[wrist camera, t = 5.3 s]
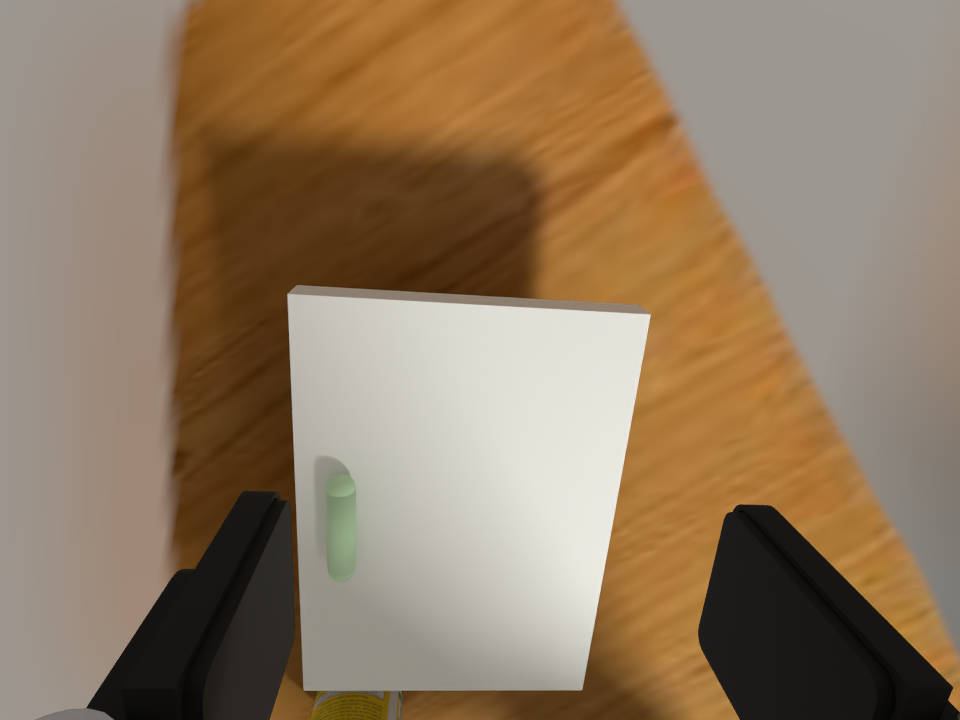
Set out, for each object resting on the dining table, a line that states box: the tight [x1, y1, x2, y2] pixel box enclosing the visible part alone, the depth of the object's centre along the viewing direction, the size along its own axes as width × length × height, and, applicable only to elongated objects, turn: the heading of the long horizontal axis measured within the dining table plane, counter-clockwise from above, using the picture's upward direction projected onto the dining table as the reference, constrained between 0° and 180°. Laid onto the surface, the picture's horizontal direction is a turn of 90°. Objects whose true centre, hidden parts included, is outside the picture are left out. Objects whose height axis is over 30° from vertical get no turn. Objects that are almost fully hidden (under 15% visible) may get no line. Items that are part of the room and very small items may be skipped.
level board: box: [287, 285, 651, 691], centre depth 26 cm, size 20×14×3 cm
